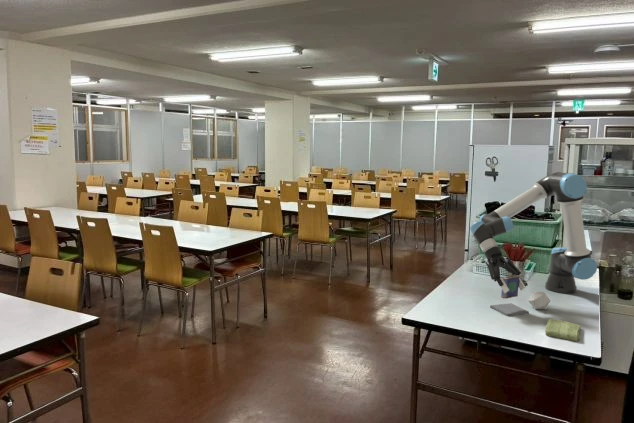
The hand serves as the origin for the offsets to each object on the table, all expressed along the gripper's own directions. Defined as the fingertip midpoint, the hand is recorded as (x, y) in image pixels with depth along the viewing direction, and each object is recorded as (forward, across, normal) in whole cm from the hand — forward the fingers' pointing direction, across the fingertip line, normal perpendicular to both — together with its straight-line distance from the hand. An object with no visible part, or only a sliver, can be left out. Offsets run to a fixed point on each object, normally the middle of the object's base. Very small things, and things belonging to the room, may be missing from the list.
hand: (515, 290), depth 215 cm
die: (+8, -16, -7) cm, 19 cm away
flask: (+1, 0, -5) cm, 5 cm away
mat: (+5, 0, -10) cm, 11 cm away
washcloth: (+25, 0, +10) cm, 27 cm away
